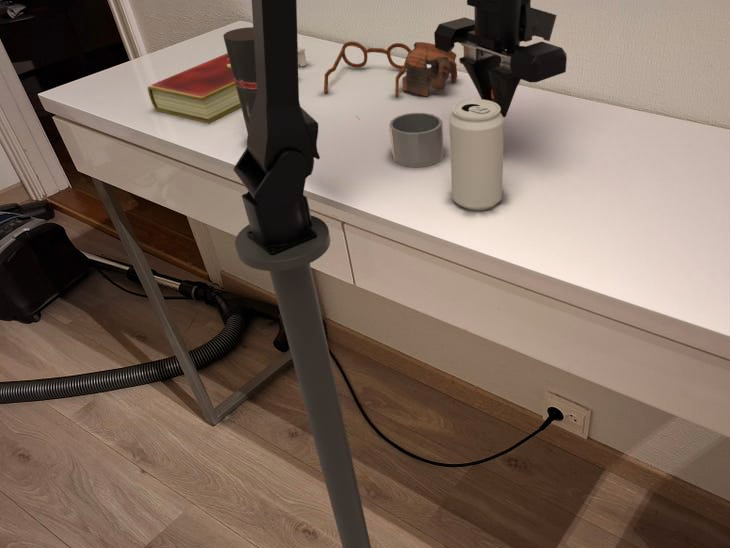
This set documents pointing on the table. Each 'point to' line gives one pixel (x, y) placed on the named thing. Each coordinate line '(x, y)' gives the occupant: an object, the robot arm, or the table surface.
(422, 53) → the brown jagged blocky figurine
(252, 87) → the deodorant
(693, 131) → the table surface
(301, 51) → the garden wall model
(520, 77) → the robot arm
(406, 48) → the glasses
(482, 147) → the beverage can
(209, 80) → the hardcover book
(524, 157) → the table surface
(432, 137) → the pen pot
